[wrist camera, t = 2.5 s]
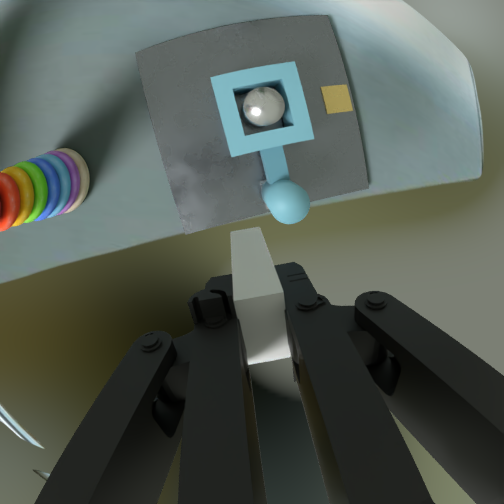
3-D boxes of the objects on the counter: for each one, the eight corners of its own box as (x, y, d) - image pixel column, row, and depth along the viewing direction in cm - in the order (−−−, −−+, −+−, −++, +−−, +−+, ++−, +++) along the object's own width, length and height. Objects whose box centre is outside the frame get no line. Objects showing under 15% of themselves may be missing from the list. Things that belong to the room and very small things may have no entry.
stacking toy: (93, 210, 30) (-7, 282, 12) (45, 211, 29) (-55, 273, 11) (92, 145, 27) (-25, 164, 9) (42, 151, 26) (-71, 179, 8)
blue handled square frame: (246, 216, 31) (252, 234, 25) (212, 86, 25) (209, 72, 19) (314, 199, 30) (334, 213, 25) (285, 71, 25) (299, 56, 19)
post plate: (186, 231, 32) (179, 251, 26) (137, 55, 23) (120, 39, 18) (365, 186, 32) (390, 197, 26) (324, 18, 23) (343, -2, 18)
